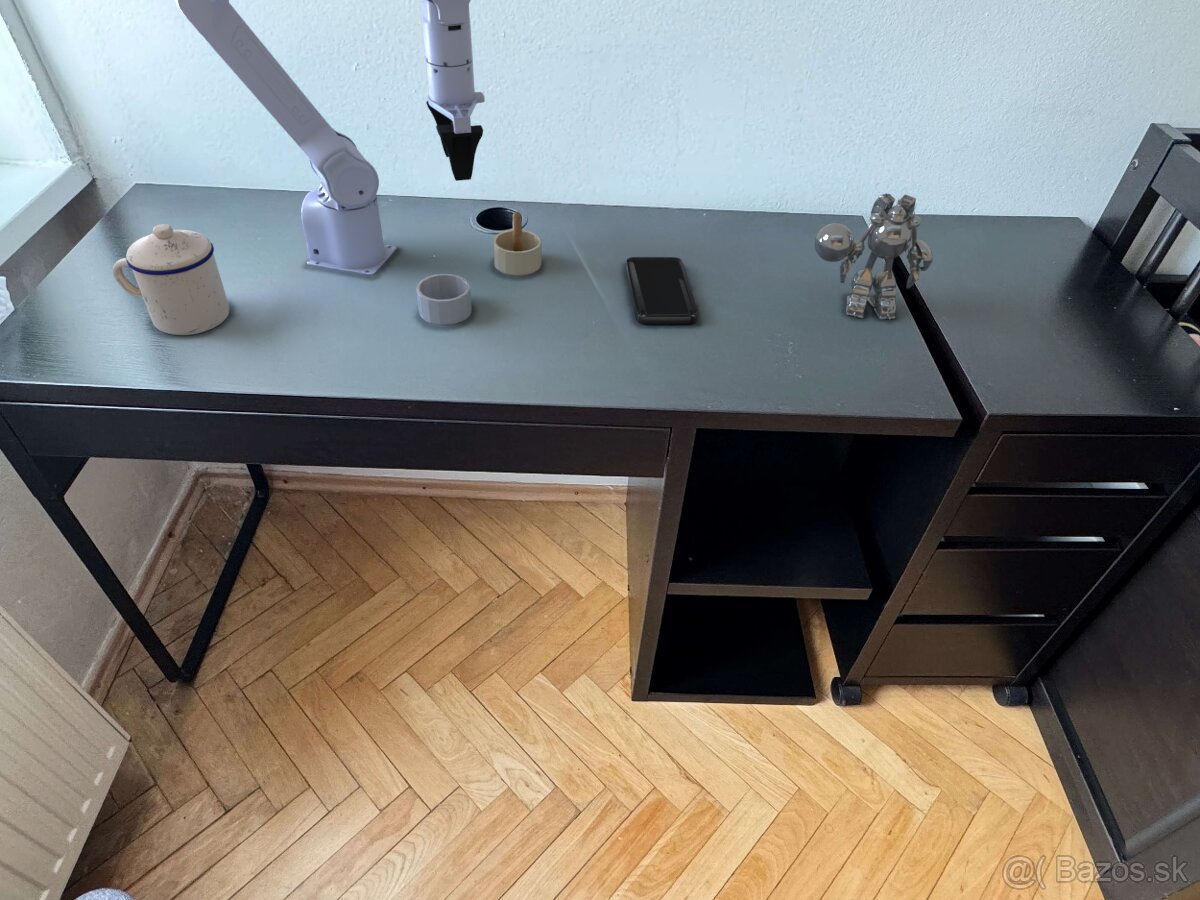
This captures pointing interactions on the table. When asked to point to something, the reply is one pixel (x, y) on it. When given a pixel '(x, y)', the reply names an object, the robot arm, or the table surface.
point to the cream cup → (517, 253)
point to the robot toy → (877, 253)
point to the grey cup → (444, 299)
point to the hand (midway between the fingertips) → (458, 167)
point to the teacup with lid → (176, 280)
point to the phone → (660, 291)
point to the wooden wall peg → (517, 231)
